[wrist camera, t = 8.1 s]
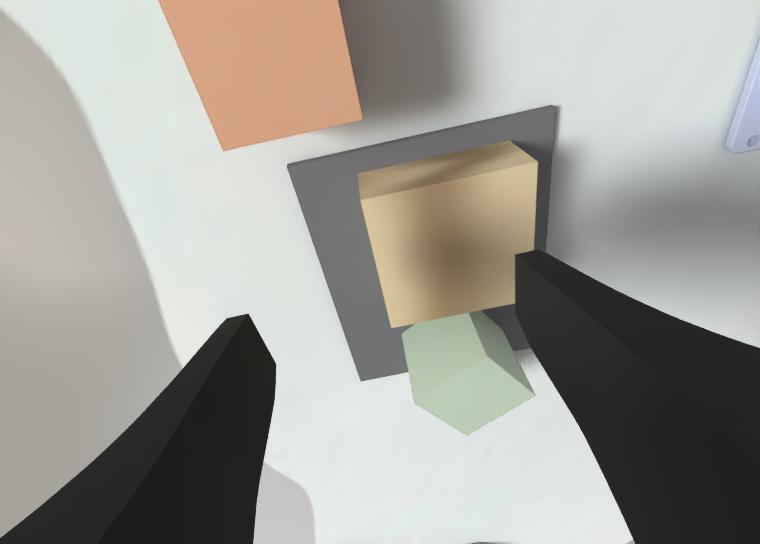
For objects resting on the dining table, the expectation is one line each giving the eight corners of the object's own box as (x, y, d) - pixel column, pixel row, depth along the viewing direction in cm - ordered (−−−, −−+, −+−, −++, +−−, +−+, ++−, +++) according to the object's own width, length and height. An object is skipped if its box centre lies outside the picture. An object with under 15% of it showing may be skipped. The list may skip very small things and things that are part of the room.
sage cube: (502, 329, 24) (535, 395, 20) (446, 366, 25) (466, 435, 21) (459, 290, 22) (486, 355, 18) (401, 334, 23) (414, 403, 19)
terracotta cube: (328, -46, 13) (323, -71, 9) (357, 92, 16) (362, 119, 12) (205, -16, 13) (146, -28, 9) (253, 115, 16) (223, 151, 12)
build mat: (551, 105, 17) (555, 107, 16) (536, 341, 25) (538, 346, 25) (287, 163, 17) (286, 166, 17) (360, 376, 26) (360, 381, 25)
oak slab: (509, 140, 17) (538, 161, 15) (509, 266, 21) (531, 299, 19) (357, 173, 17) (360, 200, 15) (385, 291, 21) (391, 328, 19)
